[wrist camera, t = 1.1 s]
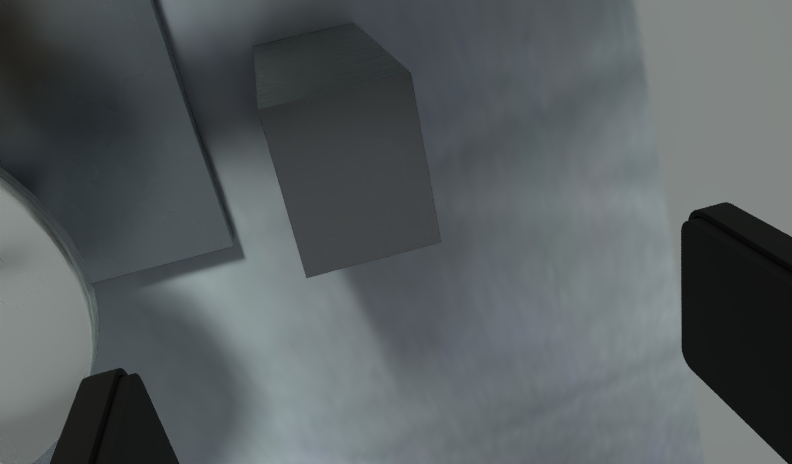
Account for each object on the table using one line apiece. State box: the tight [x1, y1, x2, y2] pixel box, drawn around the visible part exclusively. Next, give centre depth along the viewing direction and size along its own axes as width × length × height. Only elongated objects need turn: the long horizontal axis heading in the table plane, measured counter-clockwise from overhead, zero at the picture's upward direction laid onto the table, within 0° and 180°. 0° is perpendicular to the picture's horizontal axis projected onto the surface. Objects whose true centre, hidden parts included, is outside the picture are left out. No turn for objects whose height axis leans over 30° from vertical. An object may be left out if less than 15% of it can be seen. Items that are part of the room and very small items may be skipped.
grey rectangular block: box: [253, 23, 441, 278], centre depth 22 cm, size 5×4×10 cm
